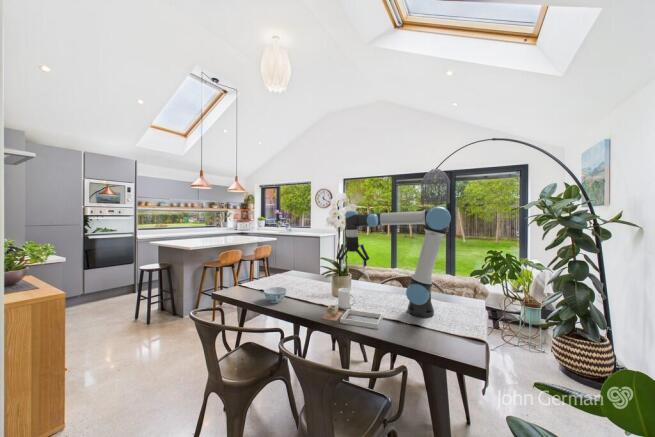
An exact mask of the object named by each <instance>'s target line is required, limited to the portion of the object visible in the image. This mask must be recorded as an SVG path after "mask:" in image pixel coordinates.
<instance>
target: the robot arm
mask: <svg viewBox="0 0 655 437" xmlns="http://www.w3.org/2000/svg"><path fill="white" fill-rule="evenodd" d="M344 216H345V218H344V219H345V220H344V221H345V236H346V237H345V243H342V244H340V249H339V251H338V253H337V255H336V258H335V259H336V260H338V261H339V263H338V265H339V266H340V272H343V271H344V258H345V256H346V255H347V254H348V253H351V252H352V253H355V252H356V253H357V255H359V257H360V258H361V259H362V272H363V273H365V271H366V267H367V266H368V265H367V264H368V263H367V261H368V260H370V257H369V255H368V252H367V251H366V249H365V246H364V243H362V244H360V243H359V227H360V228H361V227H364V228H365V227H366V228H367V227H369V228H371V227H377V226H395V225H423V226H424V227H423V230H424V232H425V234H424V237H423V240H422V242H423V243H422V246H421V250H420V252H419V253H420V254H419V257H418V259H417V264H416V268H415V271H414V273H412V274H411V275H410V279H409V281H408V285H407V288H406V290H405V294H406V298H407V300H408V301H409V302H408V305H407V313H408V314H409V315H411V316H414V317H416V318H417V317H418V318H430V317H433V316H434V315H435V310H434V306H433V303H432V286H433V284H434V283H433V280H432V275H433V272H434V267H435V265H436V260H437V257H438V254H439V251H440V250H439V249H440V247H441V243H442V240H443V237H444V236H446V235H447V233H448V229H449V226H450V223H451V220H452V216H451V213H450V211H449V210H448V209H447V208H445V207H444V206H434V207H431V208H428V209H423V210H420V211H419V210H418V211H416V210H415V211H404V212H403V211H401V212H398V211H397V212H396V211H395V212H381V213H379V212H378V213H374V212H373V213H363V214H362V213H361V214H360V213H358V211H357V210H352V211H351V210H350V211H346V212H345V215H344ZM344 248H346V249H345V251H344V252H343V250H344ZM359 248H360V249H361V250H362V252H361V251H360V249H359Z"/></svg>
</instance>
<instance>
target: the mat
mask: <svg viewBox="0 0 655 437" xmlns="http://www.w3.org/2000/svg"><path fill="white" fill-rule="evenodd" d="M343 314H344V312H341V311H338V315H337V316H336V317H328V316H327V312H326V313H325V314H323V316H322V317H321V319H322V320H326V321H334V322H337V321H338V320H340V318H341V317H342V316H343Z"/></svg>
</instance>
